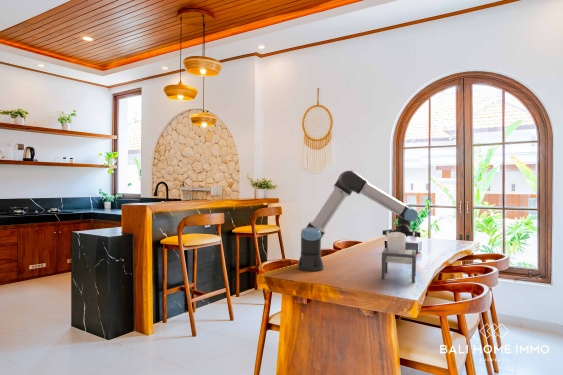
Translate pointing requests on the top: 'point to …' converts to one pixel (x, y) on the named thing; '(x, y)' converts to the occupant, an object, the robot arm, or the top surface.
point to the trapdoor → (403, 261)
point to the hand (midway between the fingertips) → (400, 235)
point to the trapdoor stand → (385, 254)
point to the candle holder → (396, 243)
